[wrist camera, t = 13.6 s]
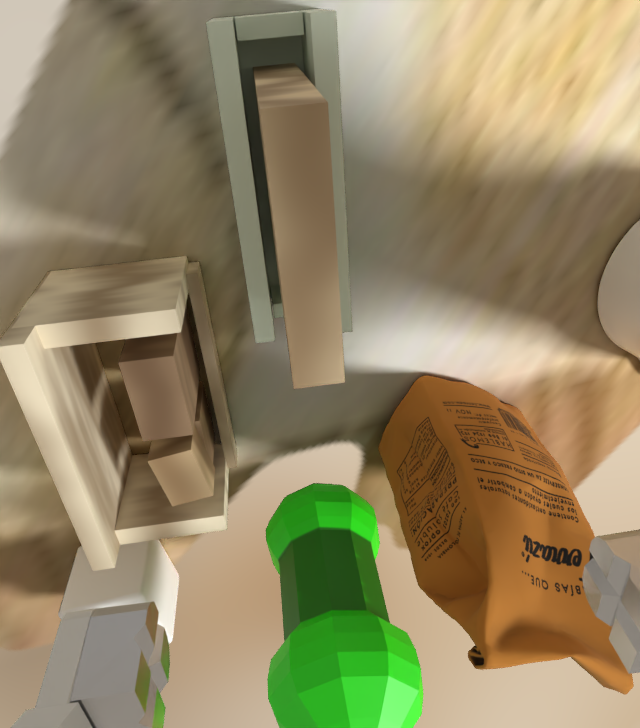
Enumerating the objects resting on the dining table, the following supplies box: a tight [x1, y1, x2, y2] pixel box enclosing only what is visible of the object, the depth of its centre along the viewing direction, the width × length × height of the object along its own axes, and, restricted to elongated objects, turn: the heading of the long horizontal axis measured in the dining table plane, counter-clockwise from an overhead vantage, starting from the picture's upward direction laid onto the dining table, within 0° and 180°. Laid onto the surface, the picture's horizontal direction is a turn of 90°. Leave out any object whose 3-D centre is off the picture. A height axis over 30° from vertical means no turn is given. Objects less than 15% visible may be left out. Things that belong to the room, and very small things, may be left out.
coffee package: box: [379, 375, 633, 694], centre depth 41 cm, size 10×12×22 cm
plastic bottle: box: [266, 483, 423, 728], centre depth 43 cm, size 10×10×25 cm
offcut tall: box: [118, 306, 200, 441], centre depth 39 cm, size 3×6×8 cm, turn 4°
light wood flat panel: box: [253, 63, 345, 389], centre depth 30 cm, size 2×12×15 cm, turn 4°
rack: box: [0, 256, 237, 571], centre depth 40 cm, size 10×18×10 cm, turn 4°
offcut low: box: [194, 381, 215, 463], centre depth 44 cm, size 3×5×5 cm, turn 4°
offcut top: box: [148, 425, 215, 506], centre depth 41 cm, size 3×4×3 cm
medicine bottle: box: [58, 539, 179, 643], centre depth 49 cm, size 7×7×12 cm
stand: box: [206, 9, 352, 343], centre depth 34 cm, size 6×17×7 cm, turn 4°
